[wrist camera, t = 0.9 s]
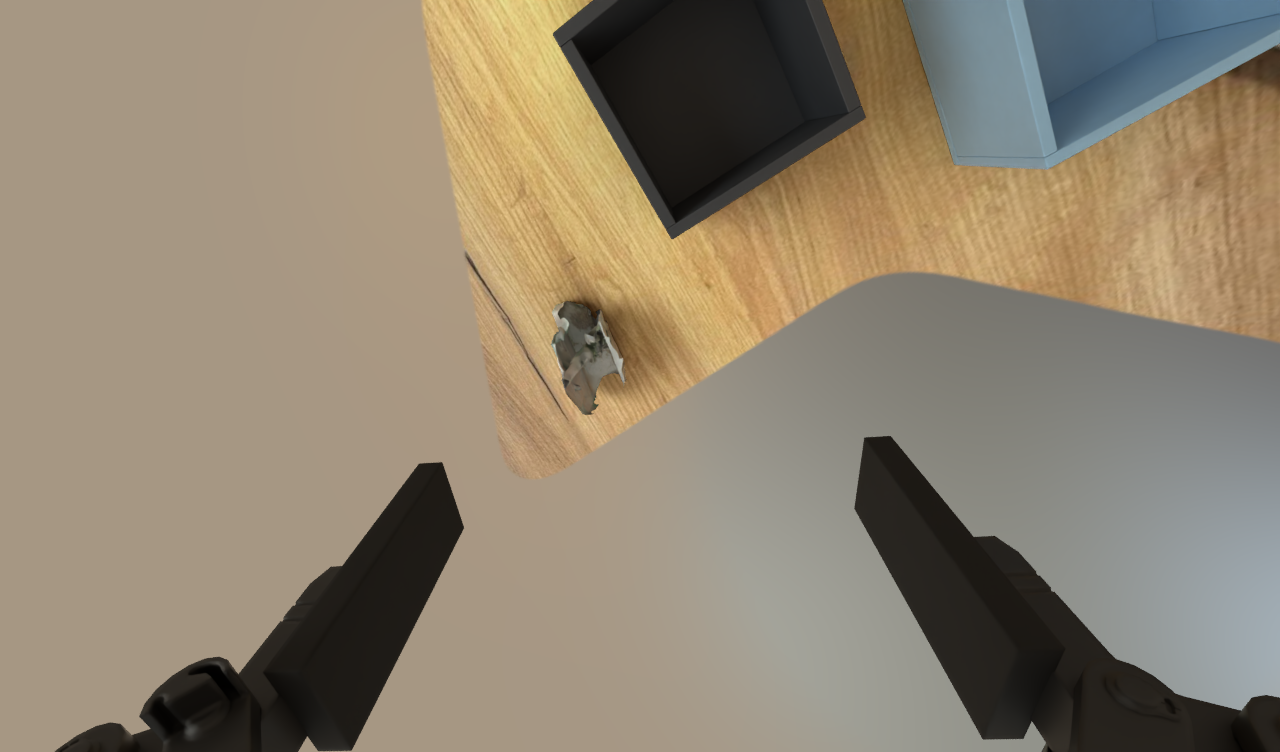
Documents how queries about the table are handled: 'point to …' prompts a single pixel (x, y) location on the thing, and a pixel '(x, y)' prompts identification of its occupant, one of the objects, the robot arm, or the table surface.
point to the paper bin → (1072, 67)
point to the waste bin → (710, 93)
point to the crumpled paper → (584, 353)
